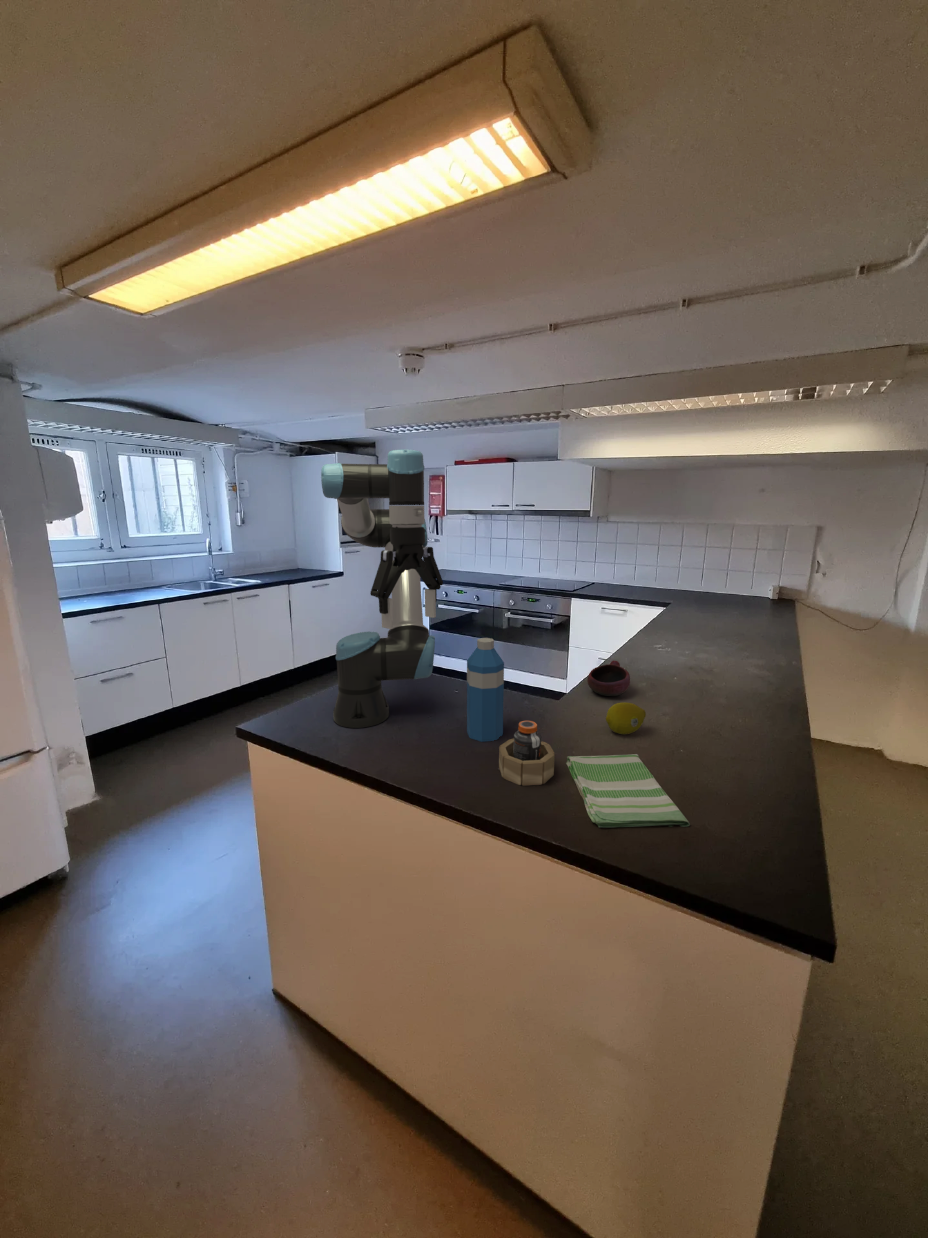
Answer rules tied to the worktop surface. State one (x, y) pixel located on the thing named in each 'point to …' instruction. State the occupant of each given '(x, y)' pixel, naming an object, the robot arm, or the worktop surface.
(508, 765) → the ring
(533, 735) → the pill bottle
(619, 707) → the lemon
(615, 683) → the bowl
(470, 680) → the water bottle
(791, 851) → the worktop surface
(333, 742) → the worktop surface
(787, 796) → the worktop surface
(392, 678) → the robot arm
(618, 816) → the dish towel
